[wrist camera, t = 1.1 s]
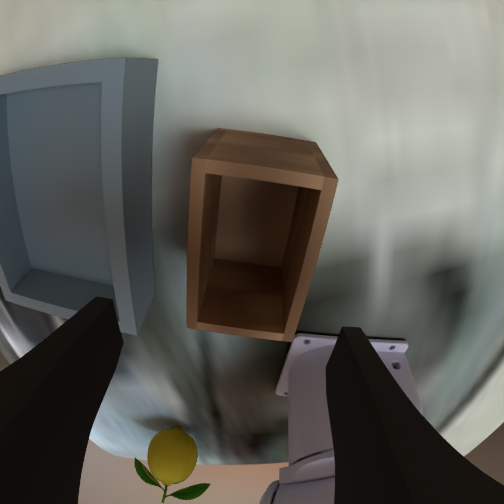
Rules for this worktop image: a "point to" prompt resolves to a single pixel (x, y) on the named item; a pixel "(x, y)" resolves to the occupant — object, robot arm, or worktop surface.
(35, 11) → the worktop surface
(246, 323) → the walnut crate
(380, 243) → the worktop surface
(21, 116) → the slate crate
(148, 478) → the lemon
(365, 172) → the worktop surface
